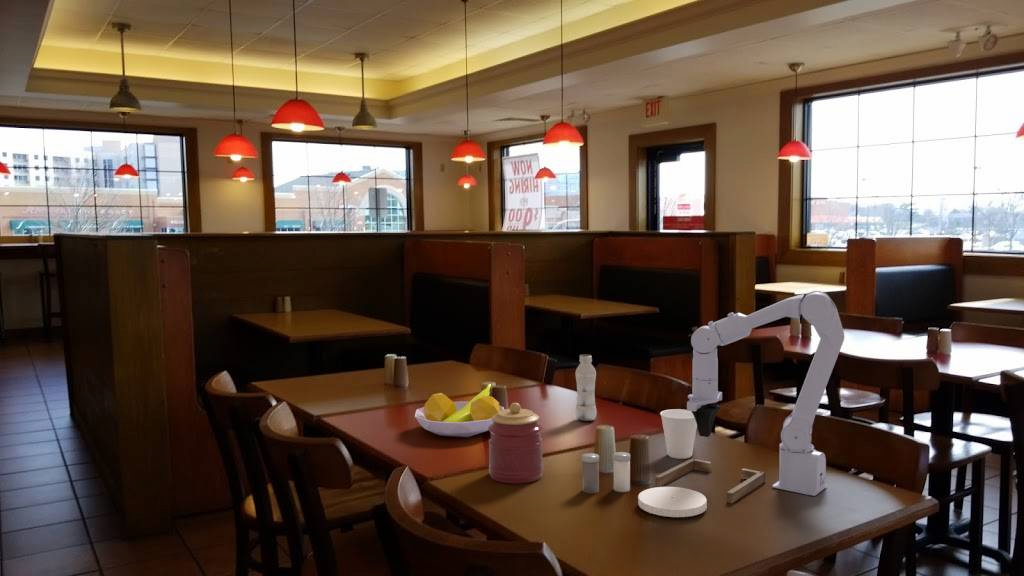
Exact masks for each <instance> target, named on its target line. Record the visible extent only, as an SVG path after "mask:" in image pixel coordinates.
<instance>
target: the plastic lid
mask: <svg viewBox="0 0 1024 576" xmlns="http://www.w3.org/2000/svg"><path fill="white" fill-rule="evenodd" d="M637 499H638V501H637V503H638V505H637V506H639V508H640V509H641V510H643V511H645V512H647V513H648V514H653V515H656V516H661V517H669V518H685V517H686V518H688V517H694V516H698V515H700V514H702V513H704V512H705V511H707V507H708V506H707V505H708V503H707V501H708V499H707V498H706V496H705V495H704V494H703V493H701V492H700V491H697V490H693V489H690V488H685V487H679V486H661V487H657V486H655V487H651V488H647V489H644V490H643V491H641V492H639V494H638V496H637Z"/></svg>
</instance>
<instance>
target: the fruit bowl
mask: <svg viewBox="0 0 1024 576" xmlns="http://www.w3.org/2000/svg"><path fill="white" fill-rule="evenodd" d="M491 388H492V384H491V383H488V384H487V386H486V388H484V389H483V390H481V391H480V392H479V393H478V394H477V395H475V396H474V397H473V398H472V399H471V400H470V401H462V400H461V401H453V400H451V398H449V397H448V396H447V395H446V394H444V393H442V392H438V393H434V394H432V395H431V396H430V397H429V398H428V400H427V401H426V402H425V403H424V406H423V407H421V408H417V409H416V410H415V414H414V417H415V419H416V420H417V422H418V423H419V425H420V426H421V427H422V428H424V430H426V431H429V432H431V433H433V434H435V435H437V436H440V437H441V436H442V437H444V436H445V437H457V438H470V437H472V436H473V437H474V436H475V435H479V434H482V433H485V432H489V430H488V427H489V425H491V424H492V423H493V420H492V416H493V415H495V414H497V413H498V412H499V411H501V410H505V407H504V406H502V405H500V402H499V401H498V400H497V399H495V398H494V397H493V396H490V393H491V392H490V389H491Z"/></svg>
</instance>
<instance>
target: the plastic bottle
mask: <svg viewBox="0 0 1024 576" xmlns="http://www.w3.org/2000/svg"><path fill="white" fill-rule="evenodd" d="M578 362H580V363H579V364H578V366H577V367H576V370H575V381H576V390H577V391H576V393H577V397H576V406H575V417H576V419H577V420H579V421H583V422H589V421H594V420H595V419H596V417H597V414H598V412H597V406H596V398H595V392H596V391H595V388H596V381H597V380H596V379H597V371H596V368H595V367H594V365H593V364H592V362H593V358H592V355H591V354H580V355H579V361H578Z"/></svg>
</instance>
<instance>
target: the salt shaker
mask: <svg viewBox="0 0 1024 576" xmlns="http://www.w3.org/2000/svg"><path fill="white" fill-rule="evenodd" d="M612 459H613V491H615V492H617V493H627V492H630V491H631V453H629V452H627V451H626V452H625V451H618V452H617V451H615V452H614V453H613V455H612Z"/></svg>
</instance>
